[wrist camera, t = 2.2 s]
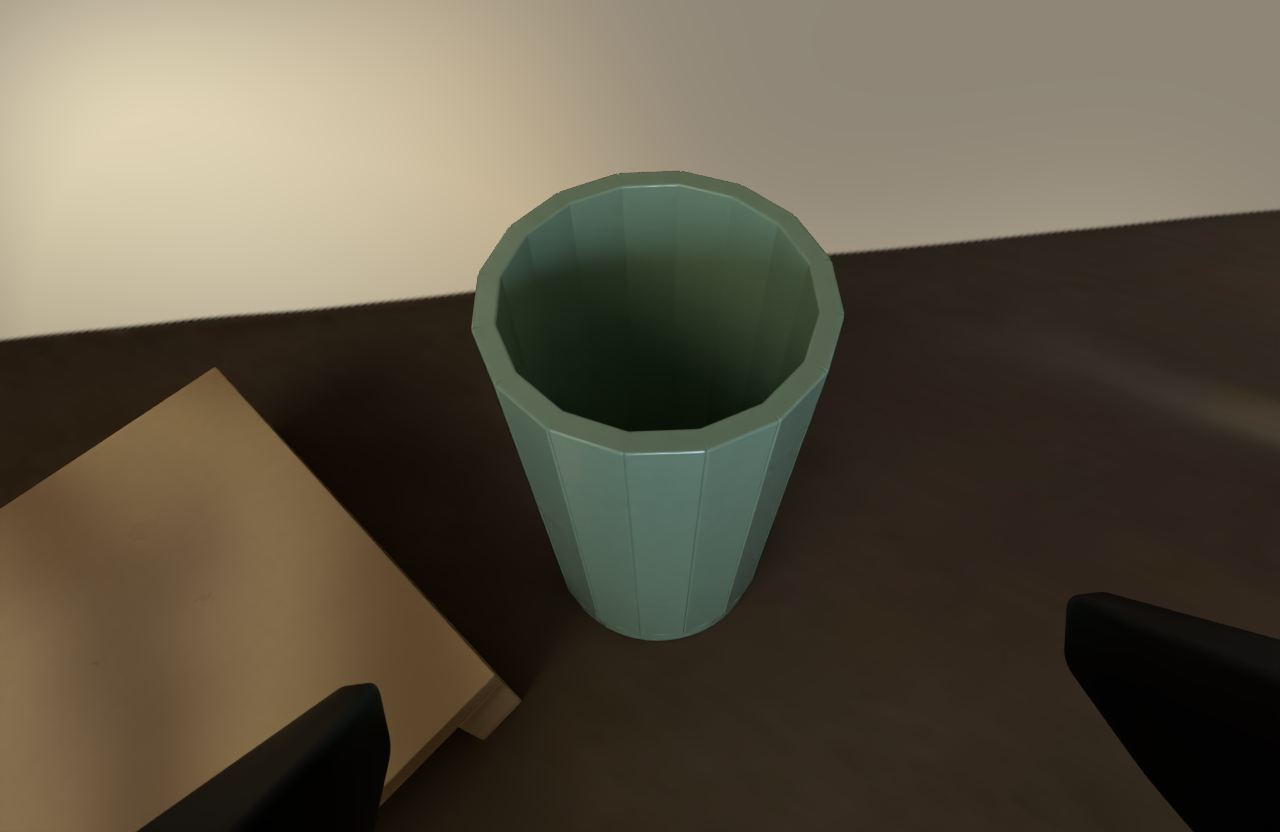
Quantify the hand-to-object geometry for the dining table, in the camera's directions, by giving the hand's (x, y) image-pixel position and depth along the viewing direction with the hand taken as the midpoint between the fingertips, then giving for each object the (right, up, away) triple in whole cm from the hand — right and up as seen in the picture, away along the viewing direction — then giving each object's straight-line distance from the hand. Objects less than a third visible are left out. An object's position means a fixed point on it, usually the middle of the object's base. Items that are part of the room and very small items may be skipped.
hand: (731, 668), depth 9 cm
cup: (-1, -1, +14) cm, 14 cm away
